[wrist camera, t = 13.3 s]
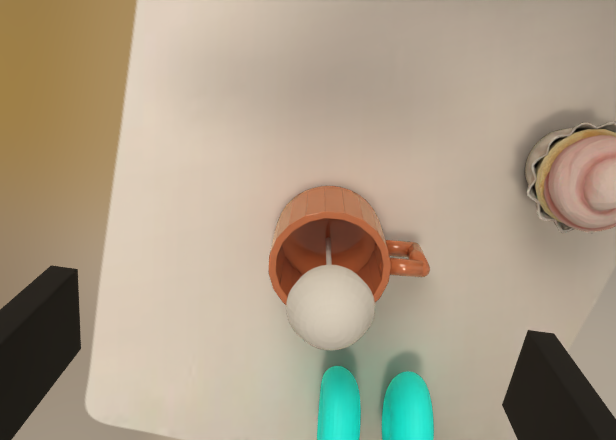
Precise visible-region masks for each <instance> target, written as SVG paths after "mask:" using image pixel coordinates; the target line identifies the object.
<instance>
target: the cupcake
mask: <svg viewBox="0 0 616 440" xmlns="http://www.w3.org/2000/svg"><path fill="white" fill-rule="evenodd" d="M525 174H526V179H527V183H528V185H529V186H528V190H527V193H526V194H527V196H528V197H529V198H531V199H532V200H533V201H535V202H536V207H537V214H538V217H539V218H540V219H542V220H544V221H554V223H555V225H556V226H557V228H558V230H559V231H560V232H561V233H566V232H568V231H571V230H573V229H577V230H581V231H585V232H588V233H593V232H595V231H602V230H606V229H610V228H613V227H615V226H616V122H608V123H605V124H603V125H600V126H598V127H597V126H595V125H593V124H591V123H584V122H582V123H581V124H579V125H577V126H576V127H574V128H568V129H561V130H557V131H554V132H552V133H549V134H548V135H546V136H545V137H543V138H542V139H541V140H540V141H539V142H538V143H537V144H536V145H535V146H534V147H533V148H532V150H531V152H530V154H529V156H528V158H527V162H526V165H525Z"/></svg>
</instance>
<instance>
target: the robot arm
mask: <svg viewBox="0 0 616 440" xmlns="http://www.w3.org/2000/svg"><path fill="white" fill-rule="evenodd" d="M80 341H81V340H80V316H79V292H78V270H77V269H72V268H65V267H58V266H50V267H49V268H48V269H47V270H45V271H44V272H43V273H42V274H41V275H40V276H39V277H37V278H36V279H35V280H34V281H33V282H32V283H31V284H29V285H28V286H27V287H26V288H25V289H24V290H22V291H21V292H20V293H19V294H18V295H17V296H16V297H14V298H13V299H12V300H11V301H10V302H9V303H7V305H5V306H4V307H3V308H2V309H1V310H0V440H11V439H12V438H13V437H14V436H15V434H16V433H17V432H18V430H19V429H20V428H21V426H22V425H23V424H24V422H25V421H26V420H27V419H28V417H29V416H30V415H31V413H32V412H33V411H34V409H35V408H36V407H37V405H38V404H39V403H40V402H41V400H42V399H43V398H44V396H45V395H46V394H47V392H48V391H49V390H50V388H51V387H52V386H53V384H54V383H55V382H56V381H57V379H58V378H59V377H60V375H61V374H62V372H63V371H64V370H65V369H66V367H67V366H68V365H69V363H70V362H71V361H72V360H73V358H74V357H75V356H76V354H77V353H78V352H79V350H80V349H81V342H80ZM502 406H503V408H504V410H505V412H506V414H507V417H508V419H509V421H510V423H511V426H512V428H513V430H514V432H515V434H516V437H517V439H518V440H616V419H615V418H614V416H613V415H612V413H611V412H610V411H609V409H608V408H607V406H606V405H605V404H604V402H603V401H602V399H601V398H600V397H599V395H598V394H597V393H596V391H595V390H594V388H593V387H592V386H591V384H590V383H589V381H588V380H587V379H586V377H585V376H584V375H583V373H582V372H581V370H580V369H579V368H578V366H577V365H576V364H575V362H574V361H573V359H572V358H571V357H570V355H569V354H568V352H567V351H566V350H565V348H564V347H563V345H562V344H561V343H560V341H559V340H558V339H557V337H556V336H555V334H553V333H545V332H538V331H531V330H528V332H527V334H526V337H525V340H524V343H523V346H522V349H521V352H520V355H519V358H518V361H517V363H516V366H515V369H514V372H513V375H512V378H511V381H510V384H509V387H508V390H507V393H506V395H505V398H504V401H503V404H502Z"/></svg>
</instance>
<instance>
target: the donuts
mask: <svg viewBox="0 0 616 440" xmlns="http://www.w3.org/2000/svg"><path fill="white" fill-rule="evenodd" d="M360 420H361V408H360V394H359V389H358V385H357V382H356V380H355V378H354V376H353V375H352V373H351V372H350V371H349V370H348V369H346V368H344V367H342V366H333V367H330V368H329V369H328V370H327V371H326V372H325V373H324V375H323V378H322V383H321V390H320V400H319V412H318V429H317V440H359V437H360ZM433 437H434V424H433V410H432V403H431V398H430V394H429V390H428V388H427V385H426V383H425V382H424V380H423V379H422V378H421V377H420V376H419V375H418V374H416V373H414V372H409V371H407V372H402V373H400V374H398V375H397V376H395V377H394V378H393V380H392V381H391V382H390V384H389V386H388V388H387V391H386V394H385V398H384V403H383V411H382V440H433Z"/></svg>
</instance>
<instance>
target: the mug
mask: <svg viewBox="0 0 616 440" xmlns="http://www.w3.org/2000/svg"><path fill="white" fill-rule="evenodd" d="M328 237H329V238H330V239H331V258H332V265H338V266H342V267H345V268H348V269H350V270H352V271H353V272H354V273H356V274H357V275H358V276H359V277H360V278H361V279H362V280H363V281H364V282H365V283H366V284H367V285H368V287H369V288H370V290H371V291H372V294H373V297H374V302H376V301H377V300H378V299H379V298H380V297H381V295H382V293H383V291H384V290H385V288H386V286H387V284H388V282H389V276H390V275H399V276H412V277H425V276H427V275H428V274H429V271H430V267H429V264H428V262H427V260H426V258H425V255H424V253H423V251H422V249H421V247H420V245H419V244H418V243H415V242H404V241H392V240H385V238H384V235H383V231H382V228H381V225H380V221H379V219H378V217H377V215H376V213H375V211H374V209H373V208H372V207H371V205H370V204H369V203H368V202H367V201H366V200H365V199H364V198H362V197H361V196H360V195H358V194H356V193H355V192H353V191H351V190H348V189H345V188H341V187H336V186H322V187H316V188H312V189H309V190H307V191H304V192H303V193H301V194H299V195H298V196H296V197H295V198H293V199H292V200H291V201H290V202H289V203H288V204H287V206H286V207H285V208H284V210H283V211H282V213H281V215H280V217H279V220H278V223H277V226H276V229H275V233H274V238H273V242H272V247H271V251H270V255H269V276H270V279H271V282H272V286H273V289H274V290H275V292H276V293H277V295H278V296H279V297H280V299H281V300H282V302H283V303H284V304H285V305H286V302H287V298H288V294H289V292H290V291H291V289H292V287H293V286H294V285H295V283H296V282H297V281H298V280H299V279H300V277H301V276H302V275H304V274H305V273H306V272H307V271H309V270H311V269H313V268H315V267H318V266H322V265H326V238H328ZM389 256H398V257H408V259H398V258H390V257H389Z"/></svg>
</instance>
